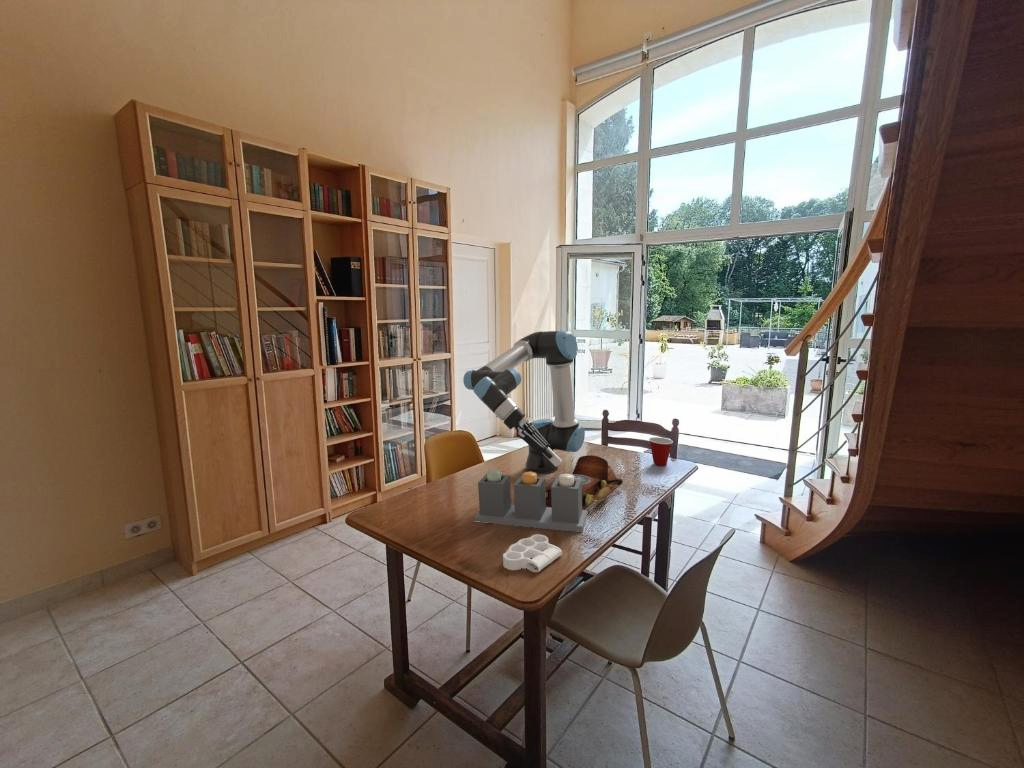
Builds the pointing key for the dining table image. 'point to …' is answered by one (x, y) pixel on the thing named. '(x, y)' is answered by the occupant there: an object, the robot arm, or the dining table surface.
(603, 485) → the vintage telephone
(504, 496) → the button stand
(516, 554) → the white brass knuckles
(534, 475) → the orange button
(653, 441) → the plastic cup
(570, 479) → the cream button
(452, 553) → the dining table surface
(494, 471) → the sage button
